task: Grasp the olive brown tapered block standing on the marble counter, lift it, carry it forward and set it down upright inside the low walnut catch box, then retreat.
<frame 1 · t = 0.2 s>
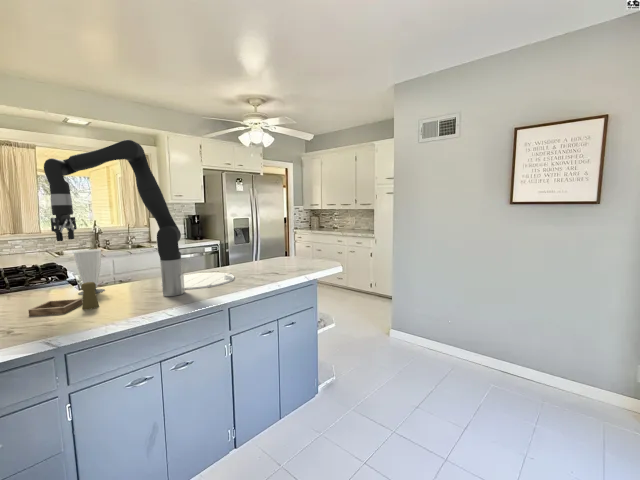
hand: (65, 240, 149), 29 cm above the table, fingers open, 8 cm apart
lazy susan: (200, 281, 188), on the table
cup: (91, 292, 168), on the table
olive brown tapered block: (90, 307, 141), on the table
catch box: (57, 309, 139), on the table
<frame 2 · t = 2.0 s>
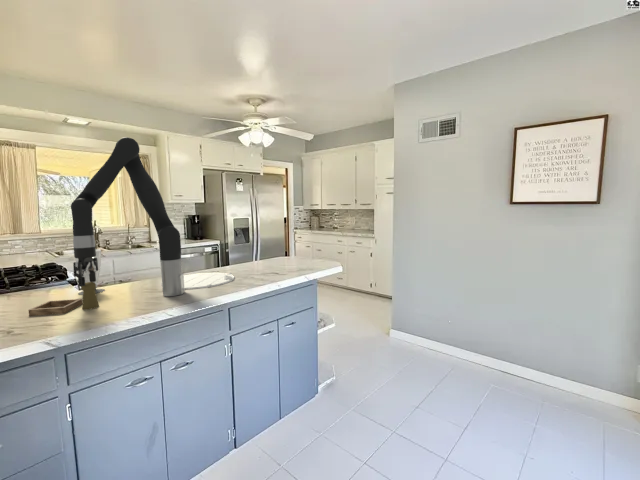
hand: (87, 283, 140), 10 cm above the table, fingers open, 8 cm apart
nothing on the table moved.
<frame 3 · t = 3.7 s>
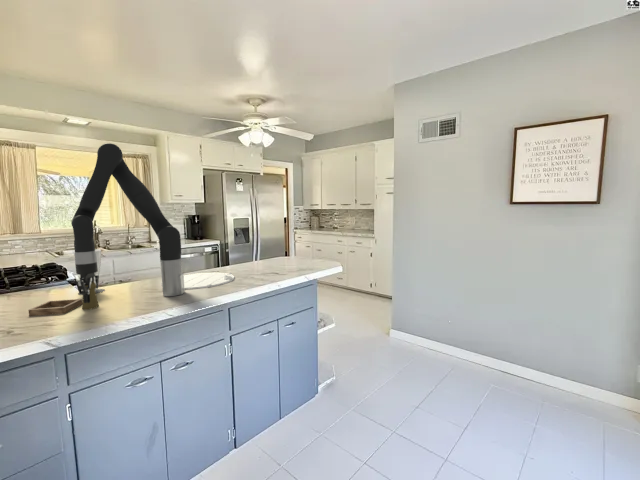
hand: (90, 301, 141), 3 cm above the table, fingers closed on olive brown tapered block, 4 cm apart
olive brown tapered block: (90, 307, 141), on the table, touching gripper
everything else where it was.
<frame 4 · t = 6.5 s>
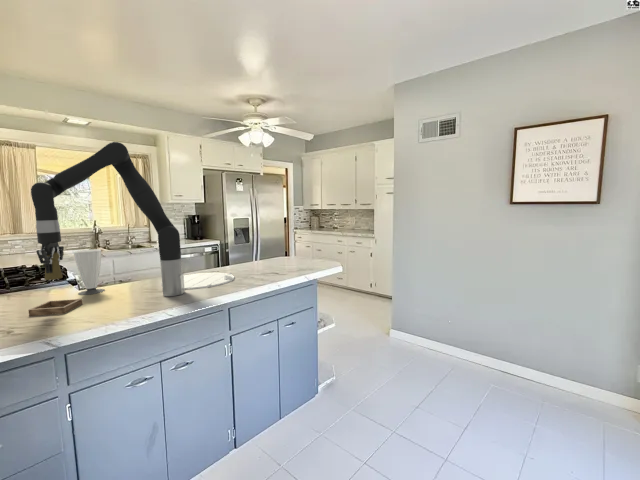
hand: (53, 271, 137), 16 cm above the table, fingers closed on olive brown tapered block, 4 cm apart
olive brown tapered block: (53, 278, 138), point 13 cm above the table, touching gripper
everything else where it was.
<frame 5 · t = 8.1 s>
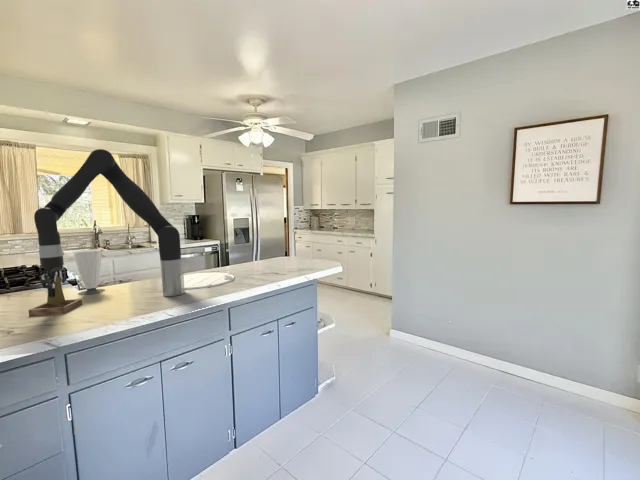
hand: (55, 295, 138), 6 cm above the table, fingers closed on olive brown tapered block, 4 cm apart
olive brown tapered block: (56, 302, 139), point 3 cm above the table, touching gripper
everything else where it was.
when the fingers open (5 cm above the table, at t = 9.3 s): olive brown tapered block drops 2 cm, resting in catch box.
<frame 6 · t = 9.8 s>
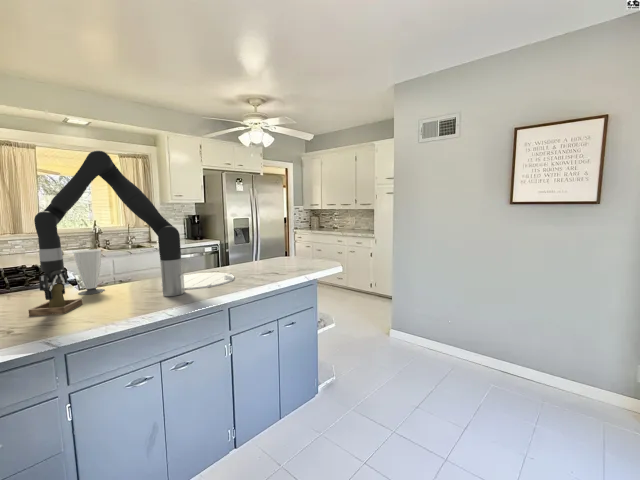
hand: (55, 296, 138), 6 cm above the table, fingers open, 8 cm apart
olive brown tapered block: (57, 310, 139), resting in catch box
everything else where it was.
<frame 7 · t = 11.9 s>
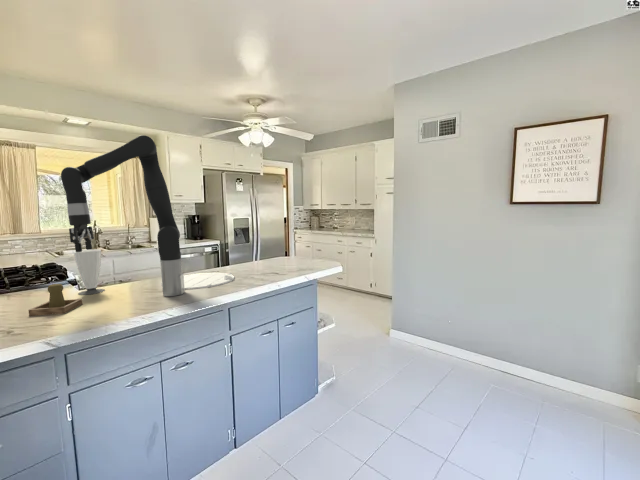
hand: (84, 250, 145), 24 cm above the table, fingers open, 8 cm apart
nothing on the table moved.
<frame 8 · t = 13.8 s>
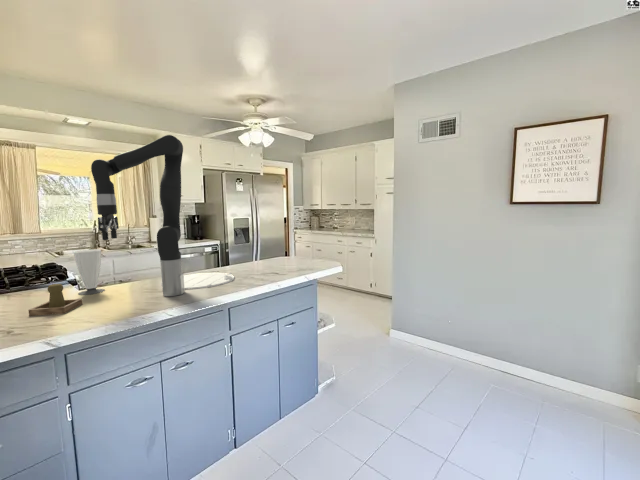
hand: (110, 239, 152), 28 cm above the table, fingers open, 8 cm apart
nothing on the table moved.
at the end: olive brown tapered block inside the target area on the catch box (0.2 cm from its centre), point 0.0 cm above the catch box's base; olive brown tapered block tilted 0°; the gripper is holding nothing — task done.
